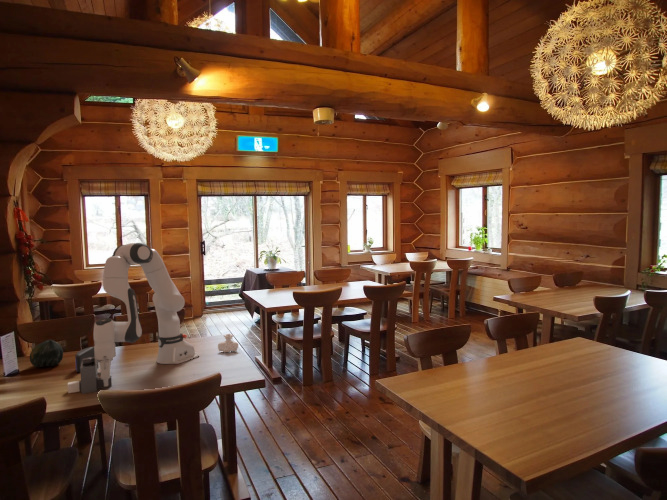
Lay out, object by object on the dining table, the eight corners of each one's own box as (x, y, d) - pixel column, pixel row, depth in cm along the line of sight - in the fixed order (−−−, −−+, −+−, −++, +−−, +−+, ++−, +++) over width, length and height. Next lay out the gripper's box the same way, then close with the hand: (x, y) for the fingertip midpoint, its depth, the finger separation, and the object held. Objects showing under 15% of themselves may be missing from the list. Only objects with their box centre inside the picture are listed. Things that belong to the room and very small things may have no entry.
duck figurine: (238, 354, 254) (240, 336, 260) (236, 350, 247) (238, 331, 254) (218, 355, 253) (220, 337, 260) (215, 350, 247) (218, 332, 253)
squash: (26, 354, 232) (30, 337, 225) (58, 349, 243) (63, 333, 236) (31, 376, 225) (35, 360, 218) (63, 370, 236) (68, 354, 229)
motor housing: (97, 383, 205) (96, 354, 204) (96, 391, 195) (95, 361, 194) (83, 385, 203) (81, 356, 202) (81, 393, 193) (79, 363, 192)
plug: (111, 384, 204) (111, 375, 204) (111, 386, 202) (111, 377, 201) (68, 390, 196) (68, 382, 196) (68, 393, 194) (67, 384, 193)
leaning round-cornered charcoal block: (87, 363, 235) (86, 346, 234) (96, 362, 235) (95, 345, 234) (70, 373, 219) (69, 355, 218) (79, 373, 219) (78, 355, 218)
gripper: (112, 358, 193) (113, 388, 194) (112, 347, 211) (114, 374, 212) (96, 361, 190) (97, 391, 191) (98, 348, 208) (99, 376, 209)
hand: (106, 382), depth 202 cm, fingers open, 8 cm apart
